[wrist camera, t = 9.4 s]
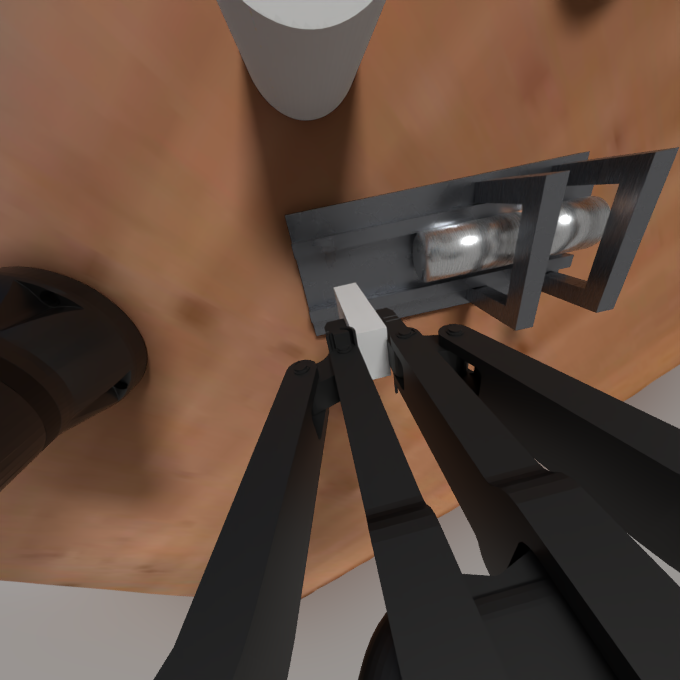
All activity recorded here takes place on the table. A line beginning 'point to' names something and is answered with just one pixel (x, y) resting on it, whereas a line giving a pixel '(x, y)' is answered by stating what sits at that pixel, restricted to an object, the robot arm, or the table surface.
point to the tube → (502, 239)
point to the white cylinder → (302, 49)
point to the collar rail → (471, 204)
